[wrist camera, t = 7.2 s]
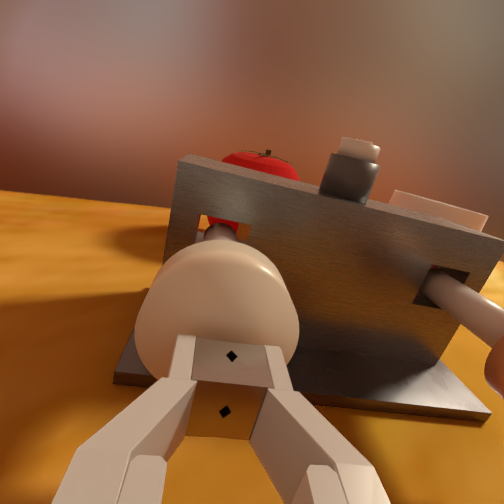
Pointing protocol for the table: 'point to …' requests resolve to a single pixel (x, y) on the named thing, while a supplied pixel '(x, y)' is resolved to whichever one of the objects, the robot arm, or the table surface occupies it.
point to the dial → (351, 170)
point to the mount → (342, 286)
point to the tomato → (258, 164)
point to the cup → (439, 209)
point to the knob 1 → (215, 300)
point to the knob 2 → (471, 319)
